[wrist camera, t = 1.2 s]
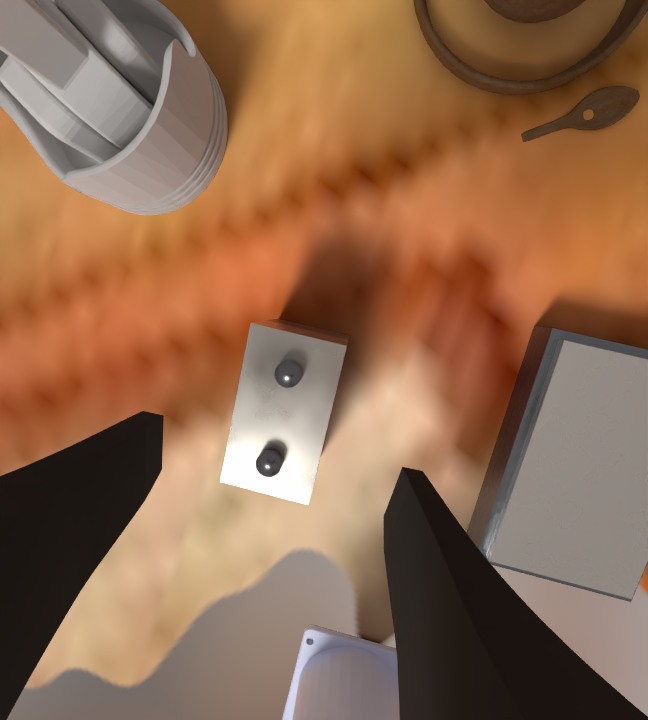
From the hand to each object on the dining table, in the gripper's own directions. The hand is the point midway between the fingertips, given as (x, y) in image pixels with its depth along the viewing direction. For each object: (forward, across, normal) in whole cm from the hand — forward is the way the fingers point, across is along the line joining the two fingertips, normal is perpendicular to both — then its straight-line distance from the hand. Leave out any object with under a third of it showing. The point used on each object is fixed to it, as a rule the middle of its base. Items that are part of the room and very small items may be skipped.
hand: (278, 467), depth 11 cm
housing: (+12, 0, +4) cm, 12 cm away
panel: (+10, -17, +3) cm, 20 cm away
